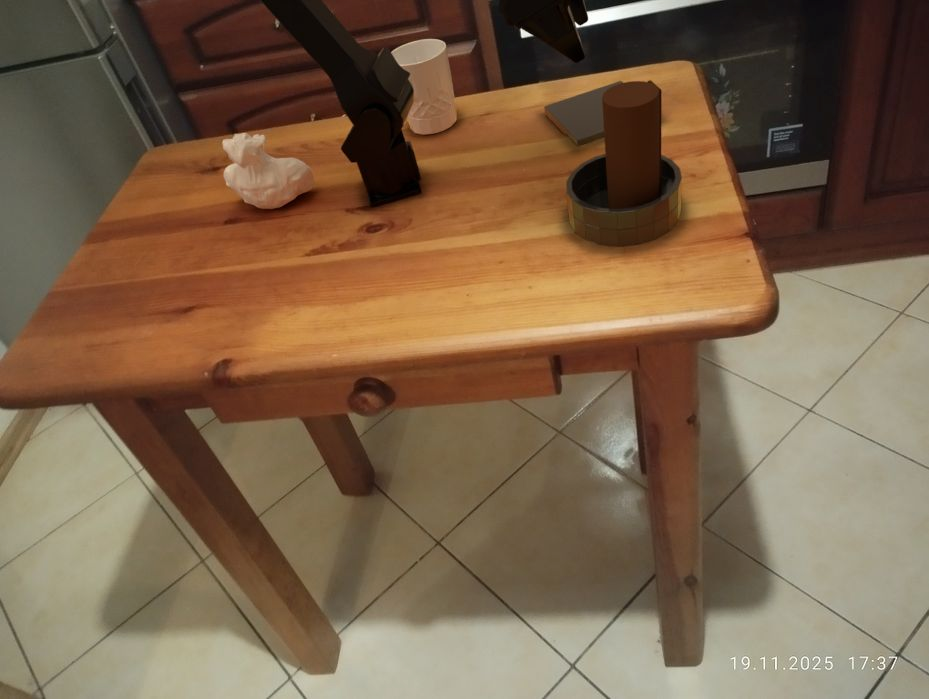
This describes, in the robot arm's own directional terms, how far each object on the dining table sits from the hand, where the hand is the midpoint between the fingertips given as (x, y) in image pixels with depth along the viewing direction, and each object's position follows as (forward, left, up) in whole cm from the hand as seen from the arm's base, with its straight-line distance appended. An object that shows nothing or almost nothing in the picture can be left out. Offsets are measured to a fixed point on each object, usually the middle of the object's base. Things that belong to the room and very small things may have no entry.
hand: (582, 40), depth 68 cm
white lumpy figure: (-38, +14, -15) cm, 43 cm away
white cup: (-15, +23, -15) cm, 31 cm away
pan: (0, -11, -15) cm, 18 cm away
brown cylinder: (0, -11, -14) cm, 18 cm away
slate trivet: (+5, +11, -15) cm, 19 cm away
